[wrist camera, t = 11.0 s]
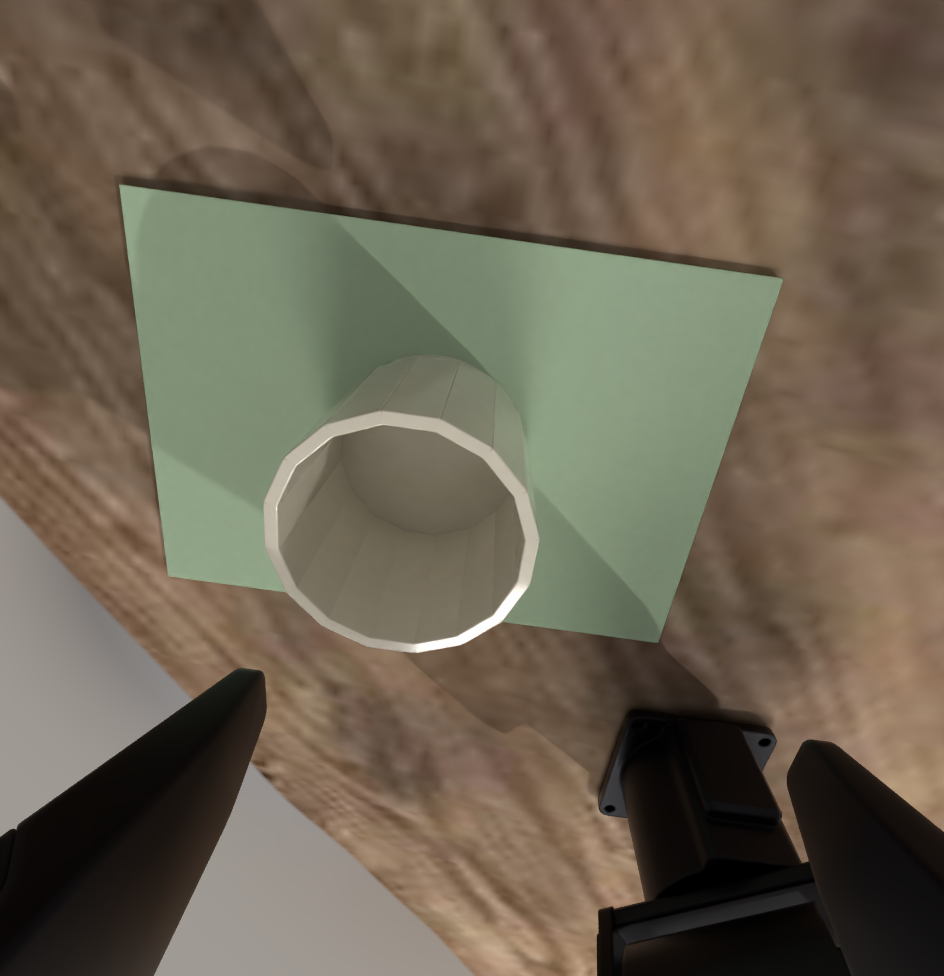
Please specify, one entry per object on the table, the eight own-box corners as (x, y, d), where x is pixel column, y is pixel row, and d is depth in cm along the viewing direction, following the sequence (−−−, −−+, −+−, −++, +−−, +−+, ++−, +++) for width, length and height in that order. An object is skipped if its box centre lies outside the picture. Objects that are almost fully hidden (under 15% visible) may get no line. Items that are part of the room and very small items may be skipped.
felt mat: (656, 638, 23) (658, 643, 22) (171, 572, 23) (167, 576, 22) (779, 277, 17) (784, 278, 17) (124, 184, 17) (118, 183, 16)
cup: (510, 544, 21) (513, 667, 15) (333, 520, 21) (267, 634, 15) (542, 369, 18) (561, 435, 12) (338, 340, 18) (258, 392, 12)
